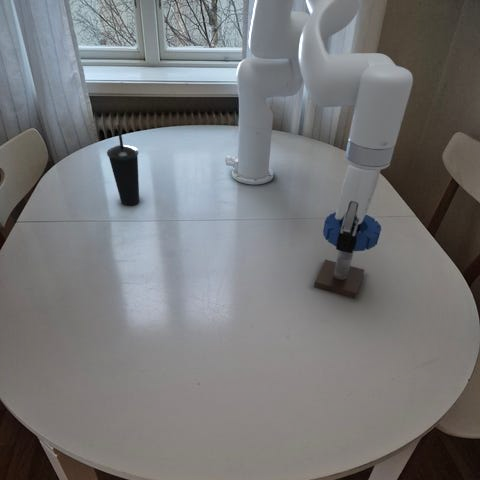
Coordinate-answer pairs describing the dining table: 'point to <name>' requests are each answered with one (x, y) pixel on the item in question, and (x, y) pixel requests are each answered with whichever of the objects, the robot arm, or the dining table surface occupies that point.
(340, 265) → the peg on square base
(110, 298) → the dining table surface
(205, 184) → the dining table surface
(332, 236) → the ring
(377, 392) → the dining table surface
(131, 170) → the drinking cup
